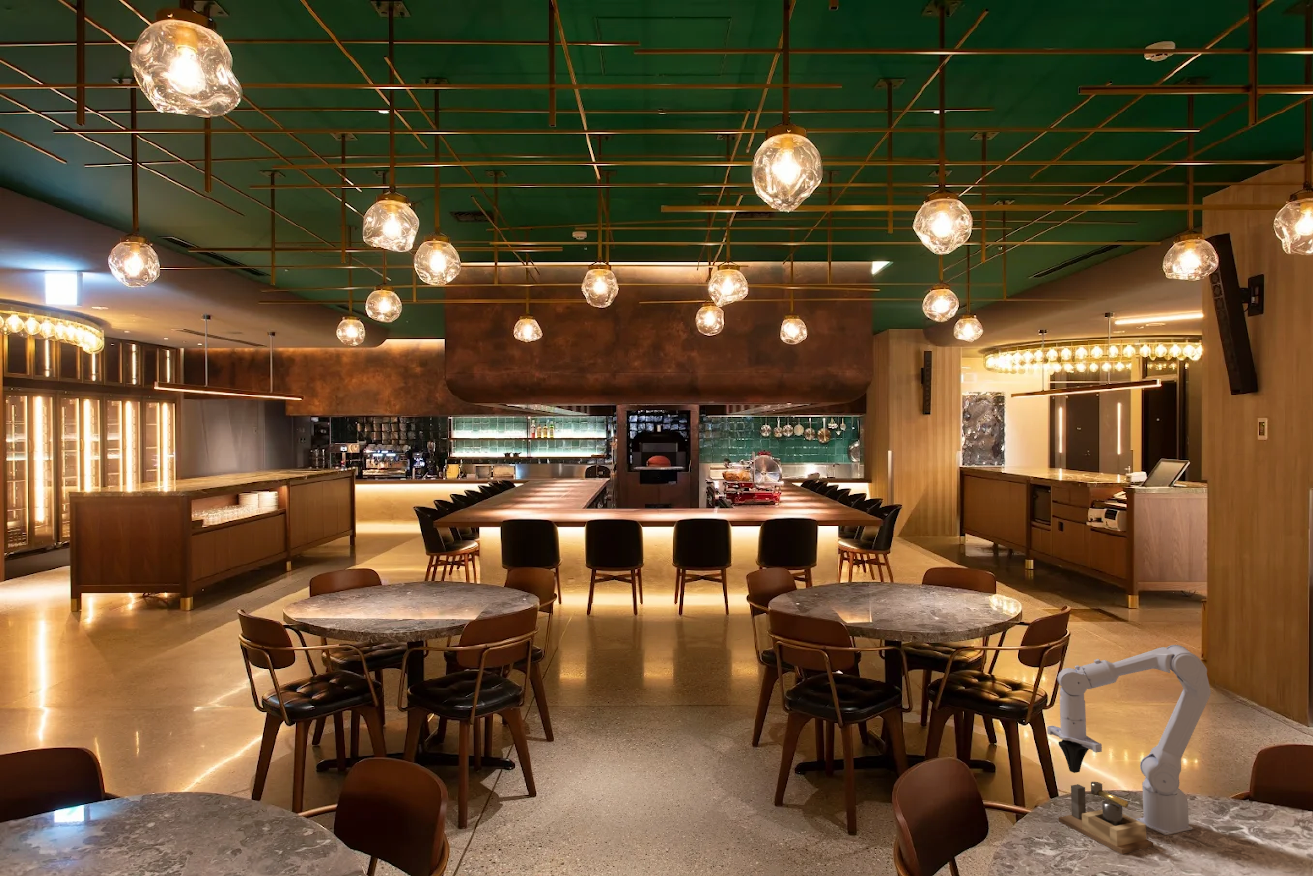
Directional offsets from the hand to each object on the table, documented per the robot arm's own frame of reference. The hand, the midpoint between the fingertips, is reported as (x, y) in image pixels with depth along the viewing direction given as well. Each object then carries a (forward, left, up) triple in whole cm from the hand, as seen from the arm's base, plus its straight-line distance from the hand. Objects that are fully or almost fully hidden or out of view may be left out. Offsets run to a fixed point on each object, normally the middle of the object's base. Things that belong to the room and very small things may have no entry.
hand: (1074, 771), depth 189 cm
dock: (+3, +11, -10) cm, 15 cm away
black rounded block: (+3, +13, -9) cm, 16 cm away
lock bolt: (+3, +12, -2) cm, 13 cm away
